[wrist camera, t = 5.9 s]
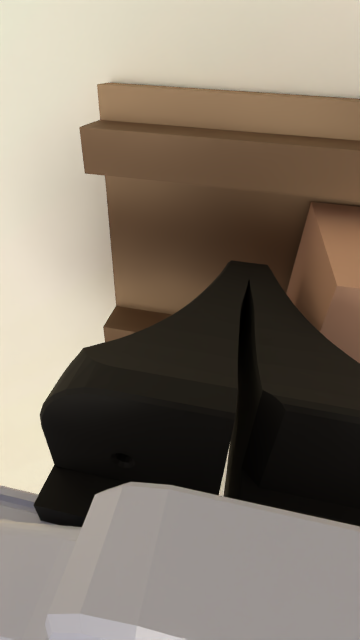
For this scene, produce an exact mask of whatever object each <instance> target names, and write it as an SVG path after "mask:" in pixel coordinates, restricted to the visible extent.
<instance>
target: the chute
mask: <svg viewBox="0 0 360 640" xmlns="http://www.w3.org/2000/svg"><path fill="white" fill-rule="evenodd" d="M97 88H98V99H99V111H100V120H98V121H96V122H93V123H90V124H87V125H84V126H81V127H80V136H81V144H82V152H83V161H84V169H85V173H87V174H97V175H105V180H106V192H107V203H108V215H109V227H110V238H111V250H112V261H113V273H114V285H115V296H116V307H115V309H114V310H113V312H112V314H111V315H110V317H109V319H108V320H107V322H106V323H105V325H104V327H103V328H104V336H105V342H108V341H112V340H115V339H119V338H122V337H125V336H127V335H130V334H133V333H135V332H138V331H141V330H143V329H145V328H148V327H150V326H152V325H154V324H156V323H158V322H160V321H162V320H164V319H166V318H167V317H169V316H171V315H173V314H175V313H176V312H178V311H179V310H180V309H182V308H183V307H185V306H186V305H187V304H189V303H190V302H191V301H193V300H194V299H195V298H196V297H197V296H198V295H199V294H201V293H202V292H203V291H204V290H205V289H206V288H207V287H208V286H209V285H210V284H211V283H212V282H213V281H214V280H215V279H216V278H217V277H218V275H219V274H220V273H221V272H222V271H223V269H224V268H225V266H226V265H227V263H228V262H230V261H231V260H233V261H241V262H249V263H257V264H265V265H268V266H269V267H270V269H271V271H272V272H273V274H274V276H275V277H276V279H277V281H278V282H279V284H280V285H281V287H282V288H283V290H284V291H285V293H286V292H287V289H288V285H289V281H290V278H291V274H292V270H293V267H294V263H295V259H296V256H297V252H298V248H299V245H300V241H301V237H302V234H303V230H304V226H305V223H306V219H307V215H308V212H309V208H310V204H311V202H318V203H328V204H337V205H347V206H356V207H360V99H352V98H337V97H321V96H306V95H290V94H275V93H259V92H244V91H229V90H213V89H198V88H182V87H167V86H152V85H136V84H121V83H104V84H97Z"/></svg>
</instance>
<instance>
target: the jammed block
mask: <svg viewBox="0 0 360 640" xmlns="http://www.w3.org/2000/svg"><path fill="white" fill-rule="evenodd" d="M286 294H287V296H288V297H289V298H290V300H291V301H292V303H293V304H294V305H295V306H296V308H297V309H298V310H299V311H300V312H301V313H302V315H303V316H304V317H305V318H306V319H307V320H308V321H309V322H310V323H311V324H312V325H313V326H314V327H315V328H316V329H317V330H318V331H319V332H320V333H322V334H323V335H324V336H325V337H326V338H327V339H328V340H329V341H331V342H332V343H333V344H334V345H336V346H337V347H338V348H339V349H341V350H342V351H343V352H345V353H346V354H347V355H349V356H350V357H351V358H353V359H354V360H356V361H357V362H358V363H360V207H356V206H347V205H337V204H328V203H318V202H311V204H310V208H309V212H308V215H307V219H306V223H305V226H304V230H303V234H302V237H301V241H300V245H299V248H298V252H297V256H296V259H295V263H294V267H293V270H292V274H291V278H290V281H289V285H288V289H287V292H286Z"/></svg>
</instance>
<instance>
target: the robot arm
mask: <svg viewBox="0 0 360 640" xmlns="http://www.w3.org/2000/svg"><path fill="white" fill-rule="evenodd" d="M40 419H41V426H42V429H43V432H44V435H45V438H46V441H47V444H48V447H49V450H50V453H51V456H52V459H53V461H54V464H55V465H54V467H53V469H52V470H51V472H50V474H49V476H48V478H47V480H46V482H45V484H44V486H43V488H42V489H41V491H40V493H39V494H34V493H30V492H26V491H22V490H17V489H13V488H9V487H5V486H1V485H0V640H360V363H358V362H357V361H356V360H354V359H353V358H351V357H350V356H349V355H347V354H346V353H345V352H343V351H342V350H341V349H339V348H338V347H337V346H336V345H334V344H333V343H332V342H331V341H329V340H328V339H327V338H326V337H325V336H324V335H323V334H322V333H320V332H319V331H318V330H317V329H316V328H315V327H314V326H313V325H312V324H311V323H310V322H309V321H308V320H307V319H306V318H305V317H304V316H303V315H302V313H301V312H300V311H299V310H298V309H297V308H296V306H295V305H294V304H293V303H292V301H291V300H290V298H289V297H288V296H287V294H286V293H285V291H284V290H283V288H282V287H281V285H280V284H279V282H278V281H277V279H276V277H275V276H274V274H273V272H272V271H271V269H270V267H269V266H268V265H265V264H257V263H249V262H241V261H233V260H231V261H230V262H228V263H227V265H226V266H225V268H224V269H223V271H222V272H221V273H220V274H219V275H218V277H217V278H216V279H215V280H214V281H213V282H212V283H211V284H210V285H209V286H208V287H207V288H206V289H205V290H204V291H203V292H202V293H201V294H199V295H198V296H197V297H196V298H195V299H194V300H193V301H191V302H190V303H189V304H187V305H186V306H185V307H183V308H182V309H180V310H179V311H178V312H176V313H175V314H173V315H171V316H169V317H167V318H166V319H164V320H162V321H160V322H158V323H156V324H154V325H152V326H150V327H148V328H145V329H143V330H141V331H138V332H135V333H133V334H130V335H127V336H125V337H122V338H119V339H115V340H112V341H108V342H105V343H101V344H97V345H94V346H90V347H86V348H83V349H82V350H81V352H80V353H79V354H78V355H77V357H76V358H75V359H74V360H73V361H72V362H71V363H70V365H69V366H68V368H67V369H66V370H65V372H64V373H63V374H62V376H61V377H60V379H59V380H58V382H57V384H56V385H55V387H54V388H53V390H52V391H51V393H50V394H49V396H48V397H47V399H46V400H45V402H44V403H43V406H42V409H41V412H40ZM229 444H230V448H229ZM228 449H229V457H228V465H227V474H226V482H225V490H224V497H223V496H219V490H220V486H221V481H222V477H223V472H224V467H225V463H226V458H227V454H228Z"/></svg>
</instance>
